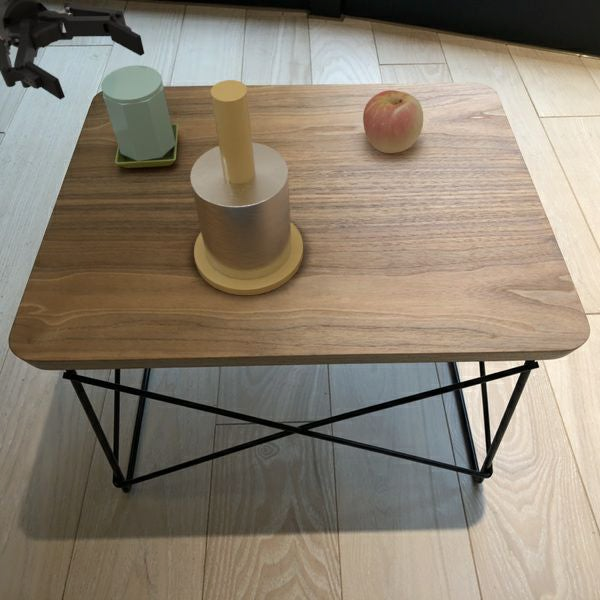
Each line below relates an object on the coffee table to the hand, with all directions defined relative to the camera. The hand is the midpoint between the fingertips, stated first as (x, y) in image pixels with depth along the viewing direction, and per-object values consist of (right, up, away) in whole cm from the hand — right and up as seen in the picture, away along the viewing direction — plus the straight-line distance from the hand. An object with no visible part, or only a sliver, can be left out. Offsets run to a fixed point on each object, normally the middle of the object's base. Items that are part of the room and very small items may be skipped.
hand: (101, 66), depth 83 cm
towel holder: (+20, -25, -3) cm, 33 cm away
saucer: (+4, -10, +9) cm, 14 cm away
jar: (+4, -8, +7) cm, 12 cm away
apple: (+40, -8, +10) cm, 42 cm away
